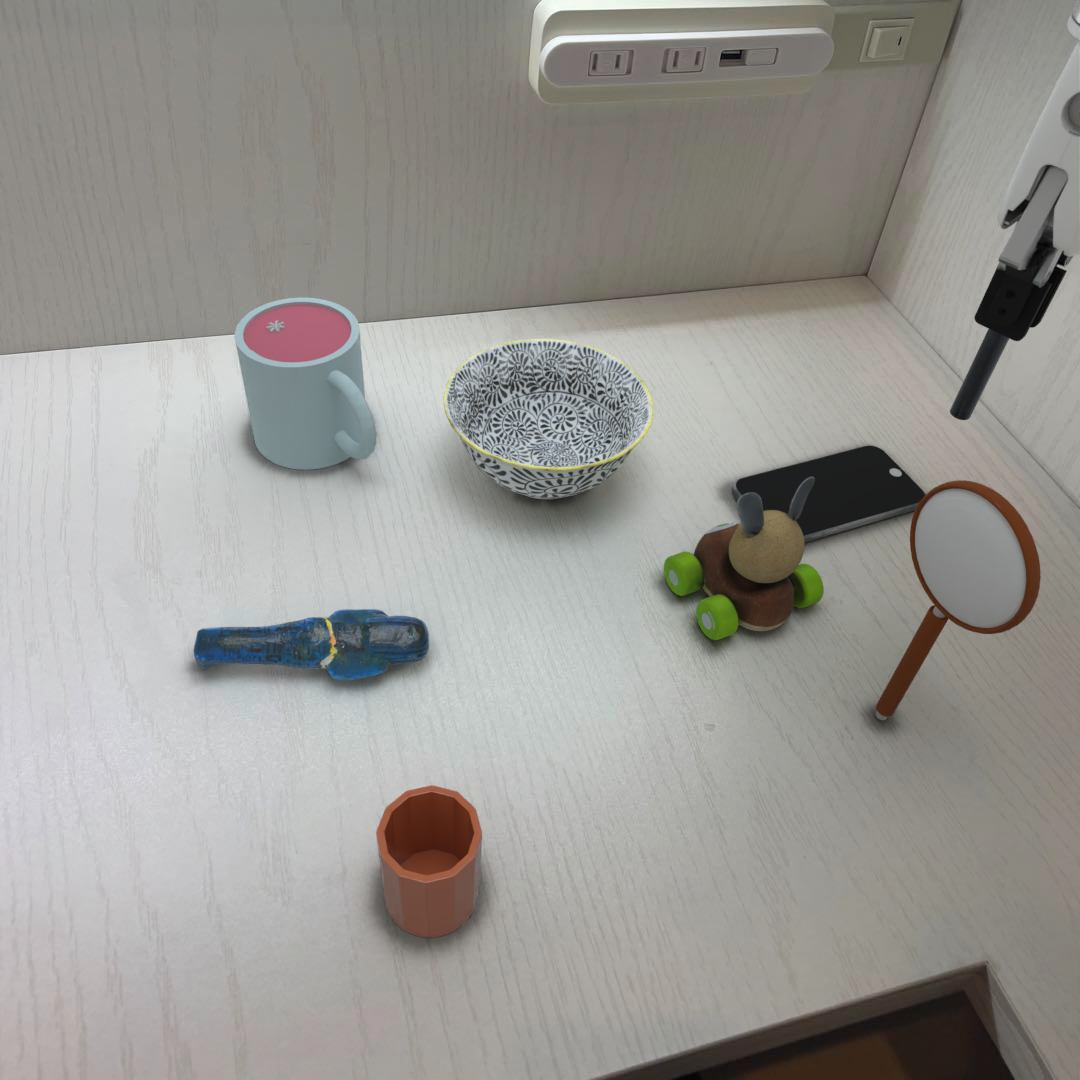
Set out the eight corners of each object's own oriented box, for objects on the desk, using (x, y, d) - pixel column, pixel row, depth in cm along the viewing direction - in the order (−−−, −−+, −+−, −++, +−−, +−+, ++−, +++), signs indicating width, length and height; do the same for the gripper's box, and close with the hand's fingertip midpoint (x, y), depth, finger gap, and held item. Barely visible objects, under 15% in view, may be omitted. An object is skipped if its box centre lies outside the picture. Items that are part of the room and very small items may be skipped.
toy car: (754, 536, 75) (790, 425, 67) (824, 616, 70) (872, 506, 62) (654, 570, 72) (679, 458, 64) (720, 657, 67) (756, 547, 59)
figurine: (197, 693, 63) (428, 687, 65) (185, 675, 60) (430, 669, 62) (202, 624, 65) (427, 620, 67) (192, 603, 62) (428, 600, 64)
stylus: (974, 414, 67) (1059, 243, 57) (964, 423, 66) (1049, 251, 57) (955, 404, 68) (1036, 234, 58) (945, 413, 67) (1026, 242, 57)
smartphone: (934, 499, 79) (779, 544, 74) (931, 506, 79) (777, 551, 74) (876, 441, 83) (727, 480, 78) (873, 447, 84) (725, 486, 79)
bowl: (426, 527, 74) (424, 452, 69) (462, 399, 85) (463, 326, 80) (635, 553, 73) (649, 480, 68) (643, 422, 84) (656, 350, 79)
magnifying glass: (831, 671, 67) (935, 452, 52) (852, 664, 67) (960, 445, 53) (910, 775, 61) (1050, 563, 47) (932, 767, 62) (1076, 554, 48)
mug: (233, 426, 81) (211, 324, 73) (327, 385, 85) (316, 284, 78) (326, 517, 74) (312, 415, 67) (423, 467, 79) (420, 366, 71)
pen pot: (497, 891, 55) (501, 832, 49) (428, 958, 52) (425, 903, 47) (435, 830, 57) (433, 768, 52) (365, 890, 54) (356, 831, 49)
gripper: (1181, 71, 42) (1007, 403, 56) (1283, -1, 51) (1109, 303, 64) (1020, 20, 46) (892, 345, 59) (1139, -40, 54) (1003, 257, 67)
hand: (1006, 322), depth 61 cm, fingers closed on stylus, 1 cm apart
